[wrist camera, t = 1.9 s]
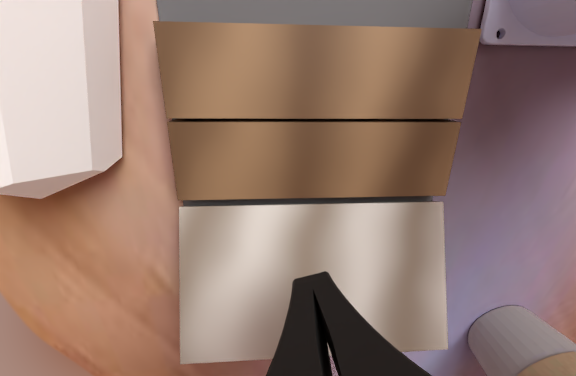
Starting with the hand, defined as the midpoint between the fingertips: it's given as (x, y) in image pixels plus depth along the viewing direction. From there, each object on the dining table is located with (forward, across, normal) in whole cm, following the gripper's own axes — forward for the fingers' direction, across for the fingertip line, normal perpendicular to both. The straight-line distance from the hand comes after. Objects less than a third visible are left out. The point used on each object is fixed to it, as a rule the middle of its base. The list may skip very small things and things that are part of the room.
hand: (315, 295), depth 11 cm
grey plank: (+6, 0, +4) cm, 8 cm away
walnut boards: (+8, -2, -5) cm, 10 cm away
